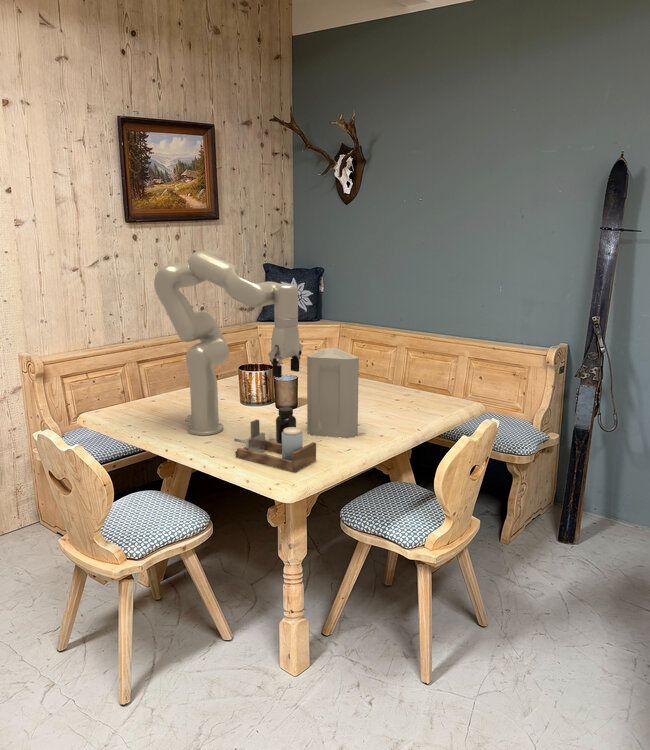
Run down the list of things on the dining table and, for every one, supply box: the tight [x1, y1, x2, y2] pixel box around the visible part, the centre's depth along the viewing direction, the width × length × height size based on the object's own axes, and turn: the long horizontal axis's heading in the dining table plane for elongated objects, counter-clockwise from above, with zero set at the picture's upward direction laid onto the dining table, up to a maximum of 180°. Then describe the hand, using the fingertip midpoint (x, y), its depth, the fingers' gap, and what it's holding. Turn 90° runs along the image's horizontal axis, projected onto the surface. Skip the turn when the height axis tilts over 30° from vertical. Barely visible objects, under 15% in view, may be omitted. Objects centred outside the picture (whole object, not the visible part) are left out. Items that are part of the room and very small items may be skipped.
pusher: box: [233, 419, 266, 453], centre depth 215 cm, size 9×8×11 cm
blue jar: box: [281, 426, 304, 461], centre depth 205 cm, size 6×6×11 cm
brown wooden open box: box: [235, 439, 317, 473], centre depth 209 cm, size 23×11×6 cm, turn 57°
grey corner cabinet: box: [306, 347, 360, 439], centre depth 233 cm, size 19×15×28 cm
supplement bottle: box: [275, 406, 297, 444], centre depth 223 cm, size 7×7×12 cm
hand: (286, 374), depth 218 cm, fingers open, 9 cm apart
